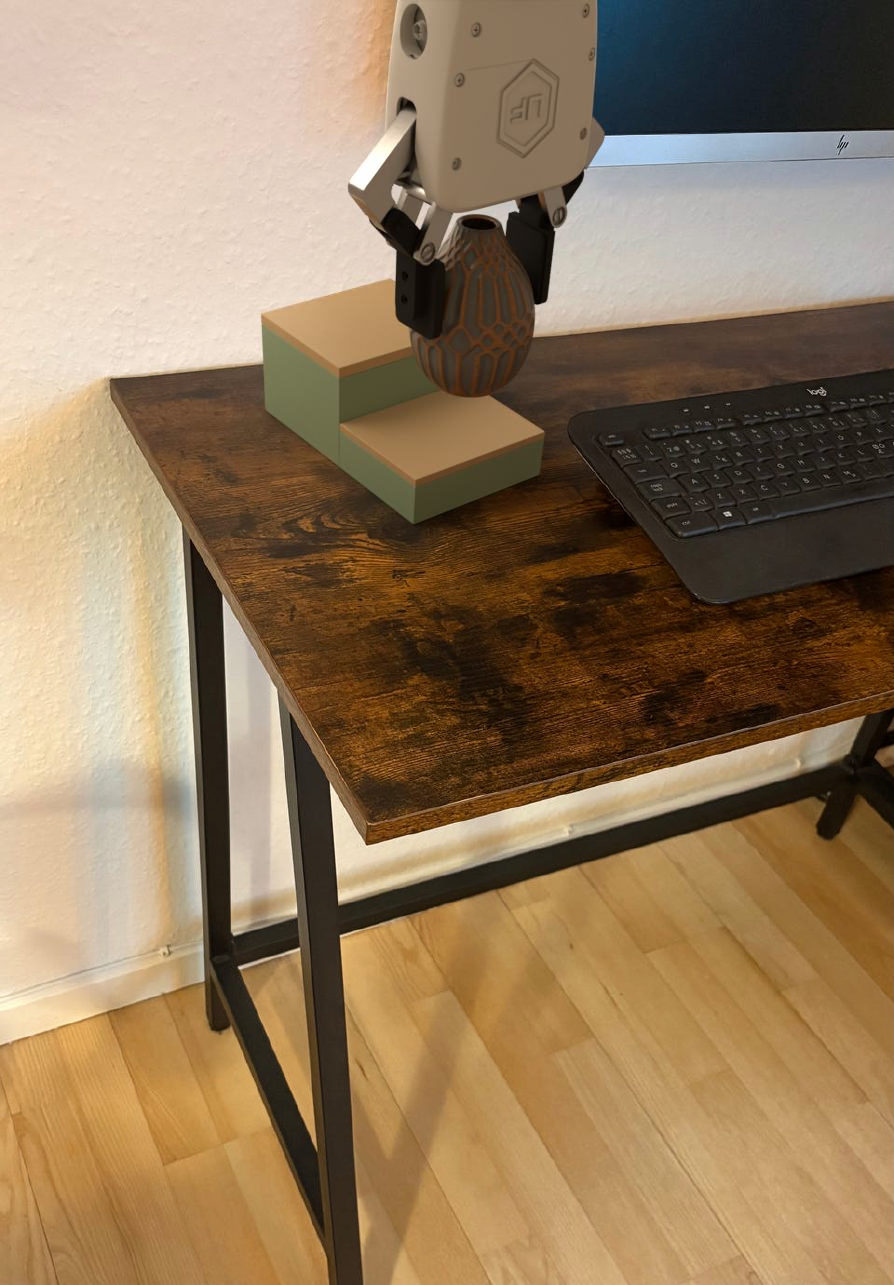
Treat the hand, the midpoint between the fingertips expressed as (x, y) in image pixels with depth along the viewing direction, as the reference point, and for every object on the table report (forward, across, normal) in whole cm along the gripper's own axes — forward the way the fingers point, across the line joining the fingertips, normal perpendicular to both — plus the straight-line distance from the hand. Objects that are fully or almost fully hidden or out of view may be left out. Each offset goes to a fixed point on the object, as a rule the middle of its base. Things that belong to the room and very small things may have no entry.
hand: (472, 309), depth 67 cm
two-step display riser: (+19, +10, +18) cm, 28 cm away
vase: (+4, 0, 0) cm, 4 cm away
